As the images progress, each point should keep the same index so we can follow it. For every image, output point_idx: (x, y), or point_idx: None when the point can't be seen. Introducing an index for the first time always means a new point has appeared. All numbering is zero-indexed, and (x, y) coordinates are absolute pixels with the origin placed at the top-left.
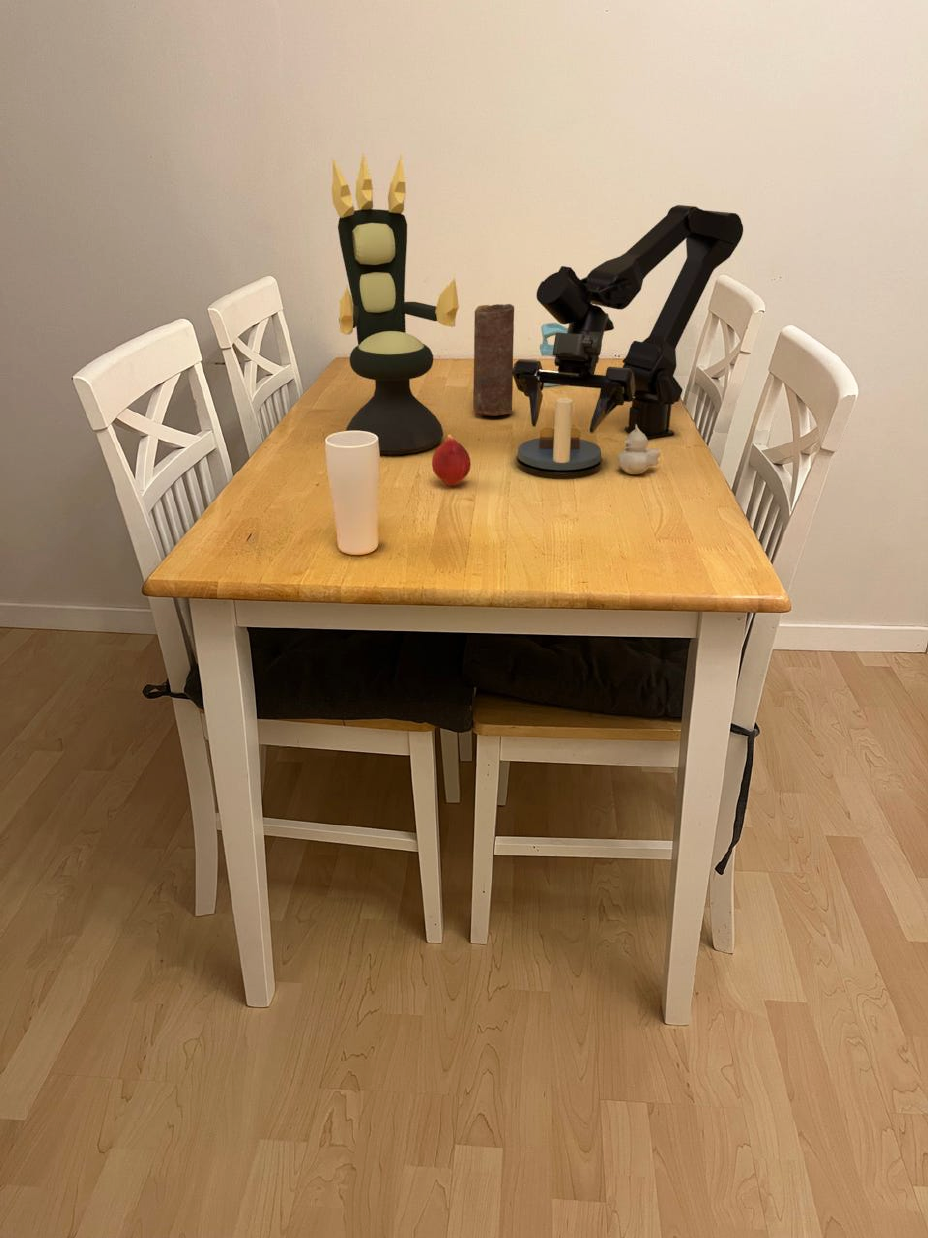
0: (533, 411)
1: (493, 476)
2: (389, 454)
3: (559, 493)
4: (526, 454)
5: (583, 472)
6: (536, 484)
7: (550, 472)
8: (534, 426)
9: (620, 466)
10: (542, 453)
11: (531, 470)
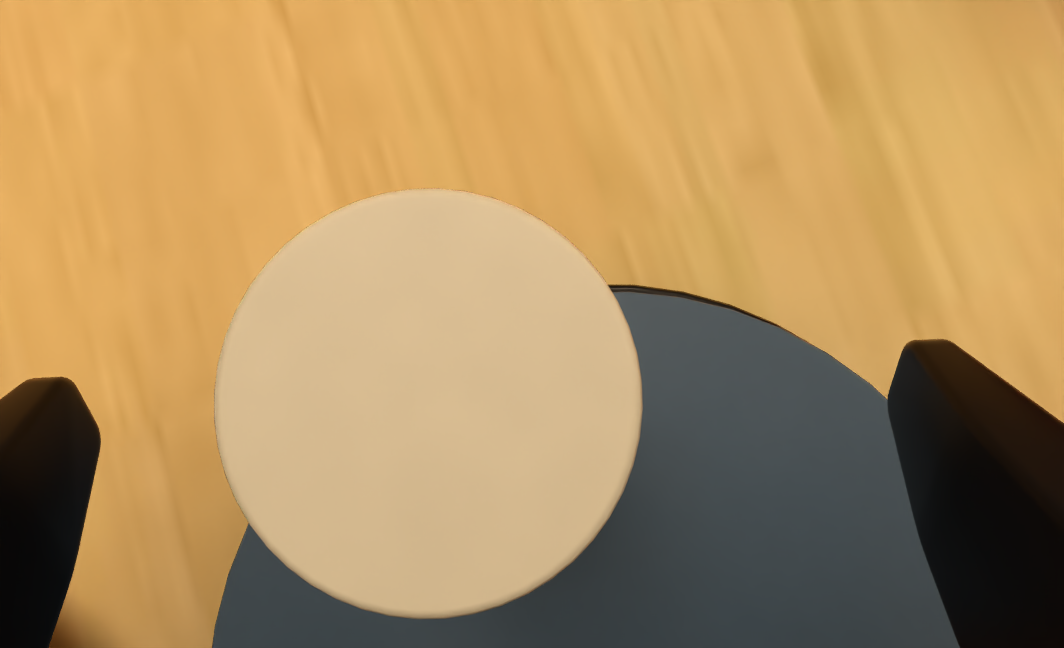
0: (1041, 448)
1: (997, 169)
2: None
3: (398, 12)
4: (860, 424)
5: None
6: (620, 127)
7: None
8: (891, 388)
9: None
10: (730, 515)
11: (738, 308)
